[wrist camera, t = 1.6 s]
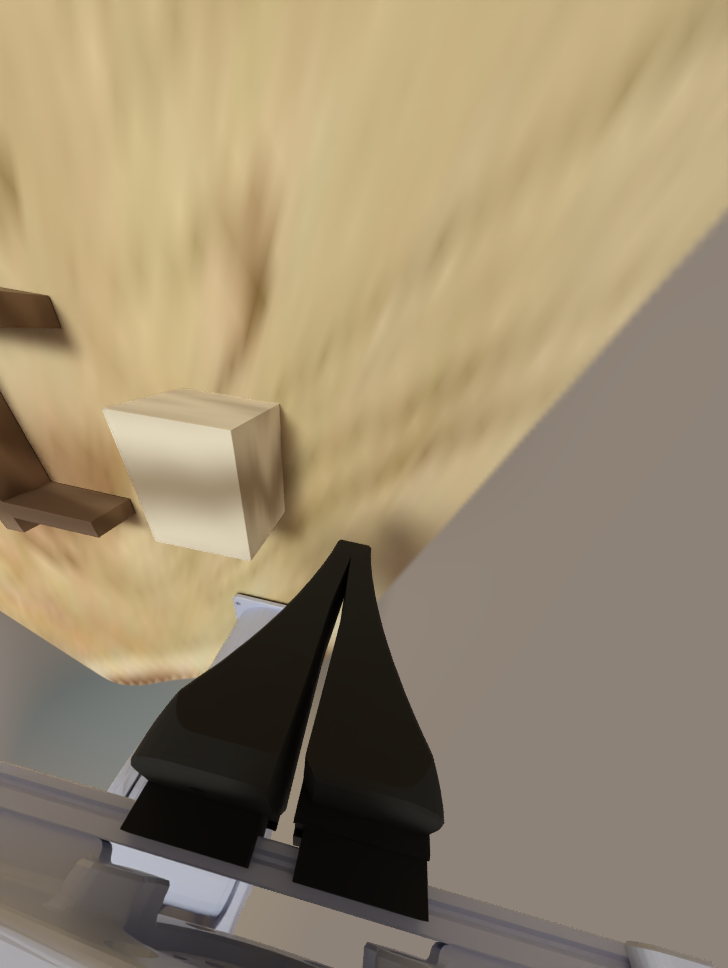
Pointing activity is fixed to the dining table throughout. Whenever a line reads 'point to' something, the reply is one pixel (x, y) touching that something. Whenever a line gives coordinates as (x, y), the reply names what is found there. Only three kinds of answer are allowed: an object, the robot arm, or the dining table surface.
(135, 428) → the maple block
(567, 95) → the dining table surface
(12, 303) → the walnut stop
